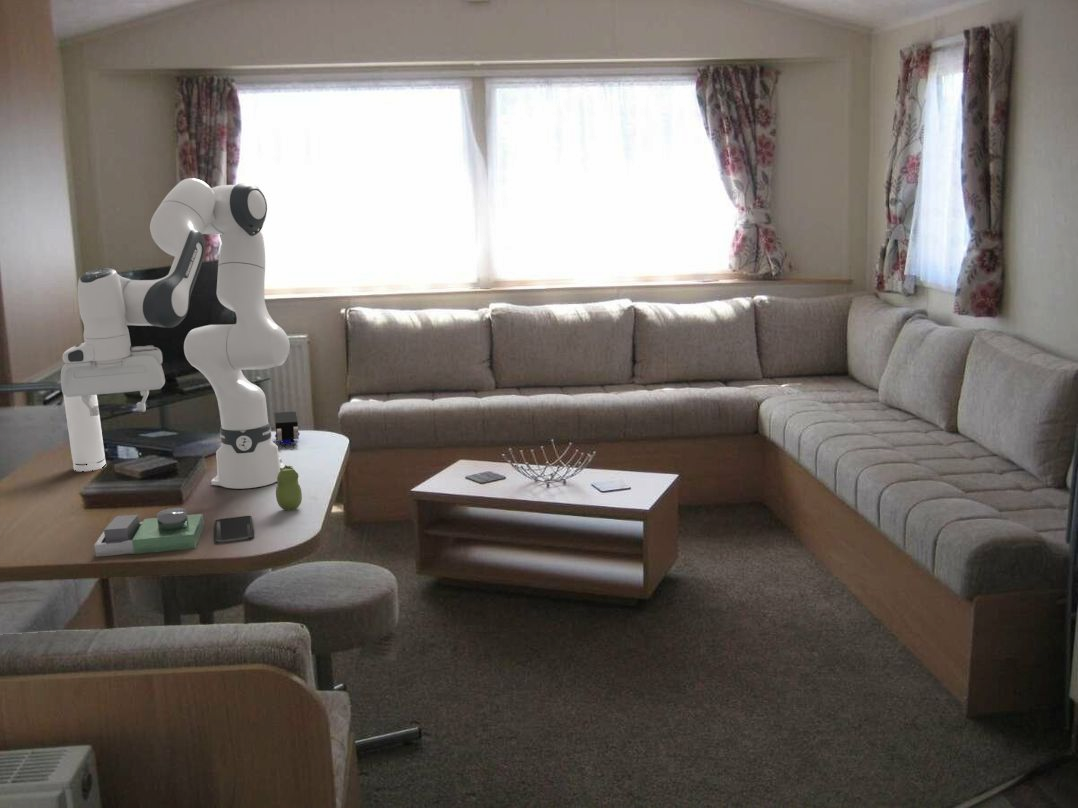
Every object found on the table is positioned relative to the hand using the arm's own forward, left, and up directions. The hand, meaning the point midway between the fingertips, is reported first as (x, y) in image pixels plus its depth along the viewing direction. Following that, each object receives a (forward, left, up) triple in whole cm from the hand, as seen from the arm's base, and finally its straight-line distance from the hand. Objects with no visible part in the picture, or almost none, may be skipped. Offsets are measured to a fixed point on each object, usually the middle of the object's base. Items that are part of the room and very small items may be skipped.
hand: (118, 413), depth 234 cm
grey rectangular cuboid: (+8, -1, -27) cm, 28 cm away
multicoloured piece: (+8, +5, -26) cm, 28 cm away
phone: (+6, +22, -27) cm, 35 cm away
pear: (-6, +33, -27) cm, 43 cm away
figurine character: (-72, +29, -27) cm, 82 cm away
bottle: (-61, -22, -27) cm, 70 cm away
